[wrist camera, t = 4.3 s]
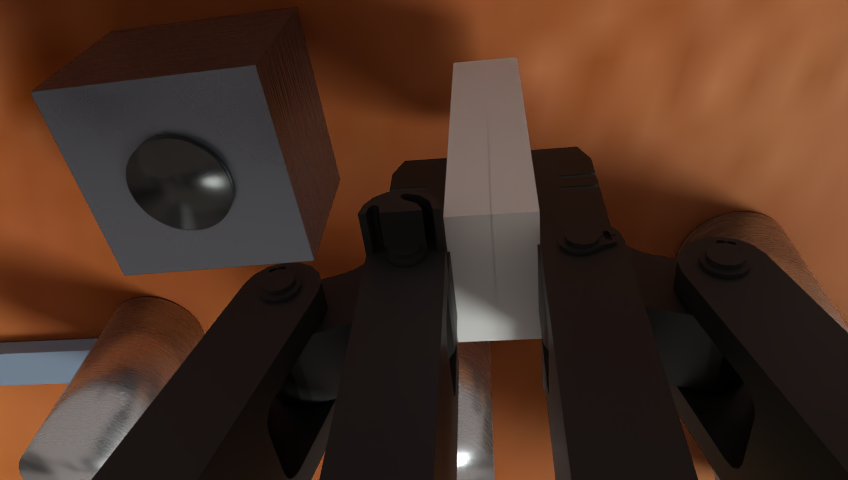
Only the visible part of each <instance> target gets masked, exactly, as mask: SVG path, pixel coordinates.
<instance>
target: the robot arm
mask: <svg viewBox="0 0 848 480" xmlns="http://www.w3.org/2000/svg"><path fill="white" fill-rule="evenodd" d="M358 217H359V222H360V227H361V231H362V236H363V241H364V246H365V251H366V260H365V264H363V265H362V266H360V267H358V268H356V269H354V270H352V271H349V272H346V273H344V274H341V275H337V276H333V277H330V278H326V279H322V280H321V279H320V275H319V272H317V271H316V270H315V269H314V268H313V267H311V266H309V265H305V264H301V263H283V264H279V265H275V266H271V267H268V268H266V269H264V270H262V271H260V272H258V273H256V274H255V275H254V276H252V277H251V278H250V279H249V280H248V281H247V282H246V283H245V284H244V285H243V286H242V288H241V289H240V290H239V291H238V293H237V294H236V295H235V297H234V298H233V299H232V300H231V302H230V303H229V304H228V306H227V307H226V308H225V309H224V311H223V312H222V313H221V314H220V316H219V317H218V318H217V320H216V321H215V322H214V323H213V325H212V326H211V327H210V329H209V330H208V331H207V332H206V334H205V335H204V336H203V337H202V339H201V340H200V341H199V343H198V344H197V345H196V346H195V348H194V349H193V350H192V352H191V353H190V354H189V355H188V357H187V358H186V359H185V360H184V362H183V363H182V364H181V366H180V367H179V368H178V369H177V371H176V372H175V373H174V375H173V376H172V377H171V378H170V380H169V381H168V382H167V383H166V385H165V386H164V387H163V389H162V390H161V391H160V392H159V394H158V395H157V396H156V397H155V399H154V400H153V401H152V403H151V404H150V405H149V406H148V408H147V409H146V410H145V412H144V413H143V414H142V415H141V417H140V418H139V419H138V420H137V422H136V423H135V424H134V426H133V427H132V428H131V429H130V431H129V432H128V433H127V435H126V436H125V437H124V438H123V440H122V441H121V442H120V443H119V445H118V446H117V447H116V449H115V450H114V451H113V452H112V454H111V455H110V456H109V458H108V459H107V460H106V461H105V463H104V464H103V465H102V466H101V468H100V469H99V470H98V472H97V473H96V474H95V475H94V477H93V478H92V479H91V480H311V479H312V477H313V475H314V473H315V471H316V469H317V467H318V465H319V463H320V460H321V458H322V456H323V454H324V452H325V455H324V460H323V465H322V470H321V475H320V479H319V480H457V447H458V396H459V359H458V350H457V337H458V342H473V341H498V340H522V339H542V367H543V391H546V398H547V407H548V416H549V425H550V434H551V443H552V452H553V461H554V470H555V479H556V480H698V478H697V474H696V471H695V468H694V465H693V461H692V458H691V455H690V452H689V448H688V445H687V442H686V439H685V435H684V432H683V429H682V426H681V422H680V419H679V416H680V417H681V419H682V420H683V422H684V424H685V425H686V427H687V428H688V430H689V432H690V433H691V435H692V436H693V438H694V439H695V441H696V443H697V444H698V446H699V447H700V449H701V451H702V452H703V454H704V455H705V457H706V458H707V460H708V462H709V463H710V465H711V466H712V468H713V470H714V471H715V473H716V474H717V476H718V477H719V479H720V480H848V332H847V331H845V330H844V329H843V328H842V327H841V326H840V325H839V324H838V323H837V322H836V321H835V320H834V319H833V318H832V317H831V316H830V315H829V314H828V313H827V312H826V311H825V310H824V309H823V308H822V307H821V306H820V305H819V304H818V303H817V302H815V301H814V300H813V299H812V298H811V297H810V296H809V295H808V294H807V293H806V292H805V291H804V290H803V289H802V288H801V287H800V286H799V285H798V284H797V283H796V282H795V281H794V280H793V279H792V278H791V277H790V276H789V275H788V274H787V273H785V272H784V271H783V270H782V269H781V268H780V267H779V266H778V265H777V264H776V263H775V262H774V261H773V260H772V259H771V258H770V257H769V256H768V255H767V254H766V253H764V252H763V251H761V250H760V249H758V248H757V247H755V246H754V245H752V244H749V243H746V242H743V241H741V240H738V239H732V238H725V237H708V238H700V239H697V240H695V241H692V242H689V243H687V244H686V245H685V246H684V247H683V248H682V249H681V250H680V251H679V254H678V258H677V259H676V258H670V257H663V256H656V255H651V254H647V253H642V252H640V251H637V250H635V249H632V248H630V247H628V246H627V245H626V244H625V240H624V239H623V237H622V236H621V234H620V233H619V231H617V230H615V229H614V228H612V227H611V225H610V222H609V219H608V215H607V212H606V208H605V205H604V202H603V198H602V195H601V191H600V188H599V186H598V181H597V178H596V176H595V171H594V167H593V164H592V160H591V158H590V157H588V156H587V155H586V154H585V153H584V152H582V151H581V150H580V149H579V148H578V147H568V148H554V149H540V150H531V149H530V142H529V135H528V129H527V122H526V115H525V108H524V101H523V94H522V87H521V81H520V74H519V67H518V60H517V57H512V58H501V59H490V60H478V61H467V62H456V63H453V77H452V92H451V107H450V123H449V138H448V153H447V158H441V159H428V160H414V161H405V162H404V163H403V164H402V165H401V166H400V167H399V168H398V169H397V170H396V171H395V172H394V174H393V175H392V180H391V186H390V191H389V192H387V193H384V194H382V195H379V196H376V197H374V198H372V199H371V200H370V201H368V202H367V203H366V204H364V205H363V206H362V208H361V210H360V212H359V213H358ZM678 414H679V416H678ZM325 450H326V451H325Z"/></svg>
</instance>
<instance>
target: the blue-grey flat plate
mask: <svg viewBox="0 0 848 480" xmlns="http://www.w3.org/2000/svg"><path fill="white" fill-rule="evenodd" d="M97 339H98V338H93V339H71V340H49V341H26V342H4V343H0V386H3V385H30V384H57V383H70V381H71V380H72V378H73V376H74V375H75V373H76V372H77V370H78V369H79V367H80V366H81V364H82V362H83V361H84V359H85V358H86V356H87V355H88V353H89V352H90V350H91V348H92V347H93V345H94V344H95V342H96V341H97Z"/></svg>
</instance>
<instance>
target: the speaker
mask: <svg viewBox="0 0 848 480" xmlns="http://www.w3.org/2000/svg"><path fill="white" fill-rule="evenodd" d="M30 93H31V95H32V97H33V98H34V100H35V102H36V104H37V106H38V108H39V110H40V112H41V114H42V116H43V118H44V120H45V122H46V124H47V126H48V128H49V130H50V132H51V133H52V135H53V137H54V139H55V141H56V143H57V145H58V147H59V149H60V151H61V153H62V155H63V157H64V159H65V161H66V163H67V165H68V167H69V168H70V170H71V172H72V174H73V176H74V178H75V180H76V182H77V184H78V186H79V188H80V190H81V192H82V194H83V196H84V198H85V200H86V202H87V203H88V205H89V207H90V209H91V211H92V213H93V215H94V217H95V219H96V221H97V223H98V225H99V227H100V229H101V231H102V233H103V235H104V237H105V238H106V240H107V242H108V244H109V246H110V248H111V250H112V252H113V254H114V256H115V258H116V260H117V262H118V264H119V266H120V268H121V270H122V271H123V273H124V275H125V276H126V275H139V274H151V273H164V272H177V271H189V270H202V269H215V268H227V267H240V266H253V265H265V264H278V263H291V262H303V261H314V260H315V257H316V253H317V250H318V247H319V244H320V241H321V238H322V235H323V232H324V228H325V225H326V222H327V219H328V216H329V213H330V210H331V207H332V203H333V200H334V197H335V194H336V191H337V188H338V185H339V182H340V177H339V173H338V169H337V165H336V161H335V157H334V153H333V149H332V145H331V141H330V137H329V133H328V129H327V125H326V121H325V117H324V113H323V109H322V105H321V101H320V97H319V93H318V89H317V85H316V81H315V77H314V73H313V69H312V65H311V61H310V57H309V53H308V49H307V45H306V41H305V37H304V33H303V29H302V25H301V21H300V17H299V13H298V9H297V7H293V8H286V9H278V10H271V11H263V12H256V13H248V14H241V15H233V16H226V17H218V18H211V19H203V20H196V21H188V22H180V23H173V24H165V25H158V26H150V27H143V28H135V29H128V30H120V31H113V32H110V33H108V34H107V35H106V36H104V37H103V38H102V39H100V40H99V41H98V42H96V43H95V44H94V45H92V46H91V47H90V48H88V49H87V50H86V51H84V52H83V53H82V54H80V55H79V56H78V57H76V58H75V59H74V60H73V61H71V62H70V63H69V64H67V65H66V66H65V67H63V68H62V69H61V70H59V71H58V72H57V73H55V74H54V75H53V76H51V77H50V78H49V79H47V80H46V81H45V82H43V83H42V84H41V85H39V86H38V87H37V88H35V89H34V90H33V91H31V92H30Z"/></svg>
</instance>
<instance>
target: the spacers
mask: <svg viewBox="0 0 848 480" xmlns="http://www.w3.org/2000/svg"><path fill="white" fill-rule="evenodd" d="M708 237H725V238H732V239H738V240H741V241H743V242H746V243H749V244H752V245H754V246H755V247H757V248H758V249H760V250H761V251H763V252H764V253H766V254H767V255H768V256H769V257H770V258H771V259H772V260H773V261H774V262H775V263H776V264H777V265H778V266H779V267H780V268H781V269H782V270H783V271H784V272H785V273H787V274H788V275H789V276H790V277H791V278H792V279H793V280H794V281H795V282H796V283H797V284H798V285H799V286H800V287H801V288H802V289H803V290H804V291H805V292H806V293H807V294H808V295H809V296H810V297H811V298H812V299H813V300H814V301H815V302H817V303H818V304H819V305H820V306H821V307H822V308H823V309H824V310H825V311H826V312H827V313H828V314H829V315H830V316H831V317H832V318H833V319H834V320H835V321H836V322H837V323H838V324H839V325H840V326H841V327H842V328H843V329H844V330H845V331H847V332H848V327H847V325H846V324H845V322H844V321H843V319H842V318H841V316H840V315H839V313H838V312H837V310H836V309H835V307H834V306H833V304H832V303H831V301H830V300H829V298H828V297H827V295H826V294H825V292H824V291H823V289H822V287H821V286H820V284H819V283H818V281H817V280H816V278H815V277H814V275H813V274H812V272H811V271H810V269H809V268H808V266H807V265H806V263H805V262H804V260H803V259H802V257H801V256H800V254H799V253H798V251H797V249H796V248H795V246H794V245H793V243H792V242H791V240H790V239H789V237H788V236H787V234H786V233H785V231H784V230H783V228H782V227H781V226H780V225H779V224H778V223H777V222H776V221H775V220H773V219H771V218H770V217H768V216H765V215H762V214H759V213H754V212H734V213H729V214H724V215H721V216H718V217H715V218H713V219H710V220H708V221H707V222H705V223H703V224H701V225H700V226H699V227H697V228H696V229H695V230H693V231H692V232H691V233H690V234H689V235H688V236H687V238H686V239H685V240H684V242H683V243H682V245H681V247H680V249H679V251H680V250H681V249H682V248H683V247H684V246H685V245H686V244H687V243H689V242H692V241H695V240H697V239H700V238H708ZM679 251H678V254H679ZM678 254H677V258H678ZM203 336H204V332H203V329H202V327H201V325H200V323H199V322H198V321H197V319H196V318H195V317H194V316H193V315H192V314H191V313H190V312H188V311H187V310H186V309H184V308H182V307H181V306H179V305H177V304H175V303H173V302H170V301H168V300H164V299H161V298H156V297H137V298H133V299H130V300H127V301H126V302H124V303H122V304H121V305H120V306H119V307H118V308H117V310H116V311H115V313H114V314H113V316H112V317H111V319H110V321H109V322H108V324H107V325H106V327H105V328H104V330H103V331H102V333H101V335H100V336H99V338H98V339H97V341H96V342H95V344H94V345H93V347H92V348H91V350H90V352H89V353H88V355H87V356H86V358H85V359H84V361H83V362H82V364H81V366H80V367H79V369H78V370H77V372H76V373H75V375H74V376H73V378H72V380H71V381H70V383H69V384H68V386H67V387H66V389H65V390H64V392H63V393H62V395H61V397H60V398H59V400H58V401H57V403H56V404H55V406H54V407H53V409H52V411H51V412H50V414H49V415H48V417H47V418H46V420H45V421H44V423H43V425H42V426H41V428H40V429H39V431H38V432H37V434H36V435H35V437H34V438H33V440H32V442H31V443H30V445H29V446H28V448H27V449H26V451H25V452H24V454H23V456H22V457H21V459H20V462H19V470H20V473H21V476H22V478H23V479H24V480H91V479H92V478H93V477H94V475H95V474H96V473H97V472H98V470H99V469H100V468H101V466H102V465H103V464H104V463H105V461H106V460H107V459H108V458H109V456H110V455H111V454H112V452H113V451H114V450H115V449H116V447H117V446H118V445H119V443H120V442H121V441H122V440H123V438H124V437H125V436H126V435H127V433H128V432H129V431H130V429H131V428H132V427H133V426H134V424H135V423H136V422H137V420H138V419H139V418H140V417H141V415H142V414H143V413H144V412H145V410H146V409H147V408H148V406H149V405H150V404H151V403H152V401H153V400H154V399H155V397H156V396H157V395H158V394H159V392H160V391H161V390H162V389H163V387H164V386H165V385H166V383H167V382H168V381H169V380H170V378H171V377H172V376H173V375H174V373H175V372H176V371H177V369H178V368H179V367H180V366H181V364H182V363H183V362H184V360H185V359H186V358H187V357H188V355H189V354H190V353H191V352H192V350H193V349H194V348H195V346H196V345H197V344H198V343H199V341H200V340H201V339H202V337H203ZM457 350H458V359H459V396H458V447H457V480H494V442H493V410H492V377H491V344H490V341H473V342H458V337H457Z"/></svg>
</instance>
